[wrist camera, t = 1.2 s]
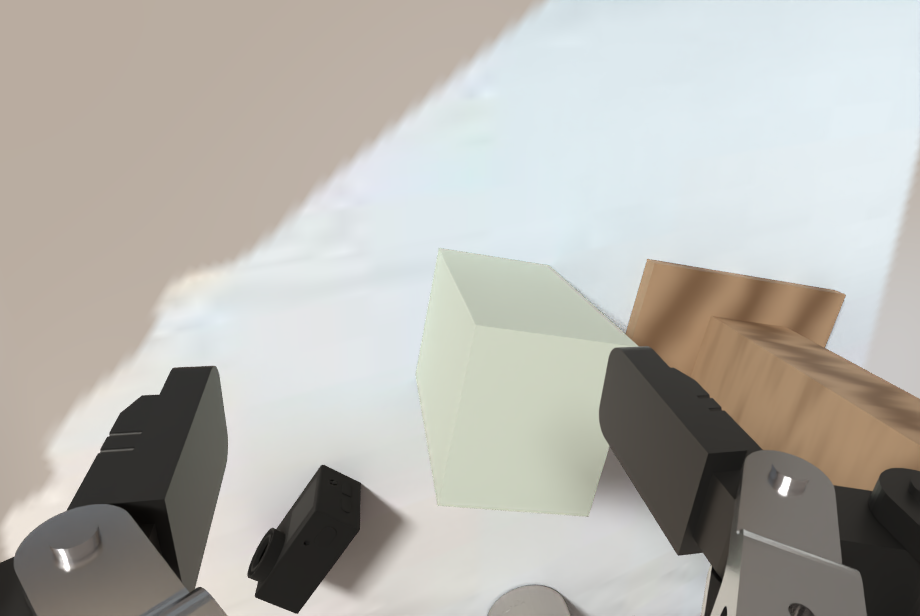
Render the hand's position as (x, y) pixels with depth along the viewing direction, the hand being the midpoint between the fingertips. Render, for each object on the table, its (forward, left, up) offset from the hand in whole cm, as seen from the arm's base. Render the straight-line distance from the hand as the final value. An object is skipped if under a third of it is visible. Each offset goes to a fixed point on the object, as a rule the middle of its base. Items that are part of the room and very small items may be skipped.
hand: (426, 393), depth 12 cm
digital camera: (-19, +26, -39) cm, 51 cm away
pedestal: (-15, +2, -39) cm, 42 cm away
